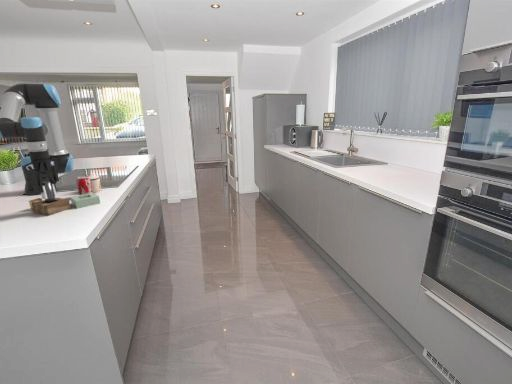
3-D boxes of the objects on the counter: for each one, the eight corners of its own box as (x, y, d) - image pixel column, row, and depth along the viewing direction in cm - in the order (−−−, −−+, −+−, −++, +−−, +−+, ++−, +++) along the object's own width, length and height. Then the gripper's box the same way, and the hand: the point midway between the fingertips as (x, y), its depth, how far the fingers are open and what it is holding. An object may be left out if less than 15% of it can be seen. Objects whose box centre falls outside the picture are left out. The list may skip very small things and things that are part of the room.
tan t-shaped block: (30, 208, 139) (28, 200, 138) (41, 205, 144) (39, 198, 142) (42, 210, 136) (40, 202, 135) (52, 207, 141) (51, 199, 140)
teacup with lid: (104, 191, 172) (100, 173, 169) (87, 194, 166) (84, 175, 163) (98, 187, 180) (95, 170, 177) (83, 190, 174) (79, 172, 171)
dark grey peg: (47, 210, 137) (40, 182, 133) (56, 208, 140) (50, 180, 136) (49, 212, 135) (42, 183, 131) (58, 210, 138) (51, 182, 133)
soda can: (87, 199, 156) (82, 178, 153) (76, 198, 158) (72, 178, 154) (96, 195, 163) (92, 176, 160) (86, 195, 164) (82, 175, 161)
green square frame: (71, 203, 148) (70, 196, 147) (94, 199, 155) (92, 192, 154) (77, 208, 140) (75, 201, 139) (100, 203, 148) (98, 196, 147)
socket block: (33, 213, 134) (31, 203, 133) (55, 206, 144) (53, 197, 143) (49, 215, 131) (46, 205, 129) (70, 208, 141) (68, 199, 139)
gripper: (24, 153, 120) (36, 203, 127) (61, 148, 136) (70, 193, 142) (13, 152, 123) (26, 201, 129) (50, 148, 138) (60, 192, 144)
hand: (49, 197), depth 136 cm, fingers closed on dark grey peg, 4 cm apart
